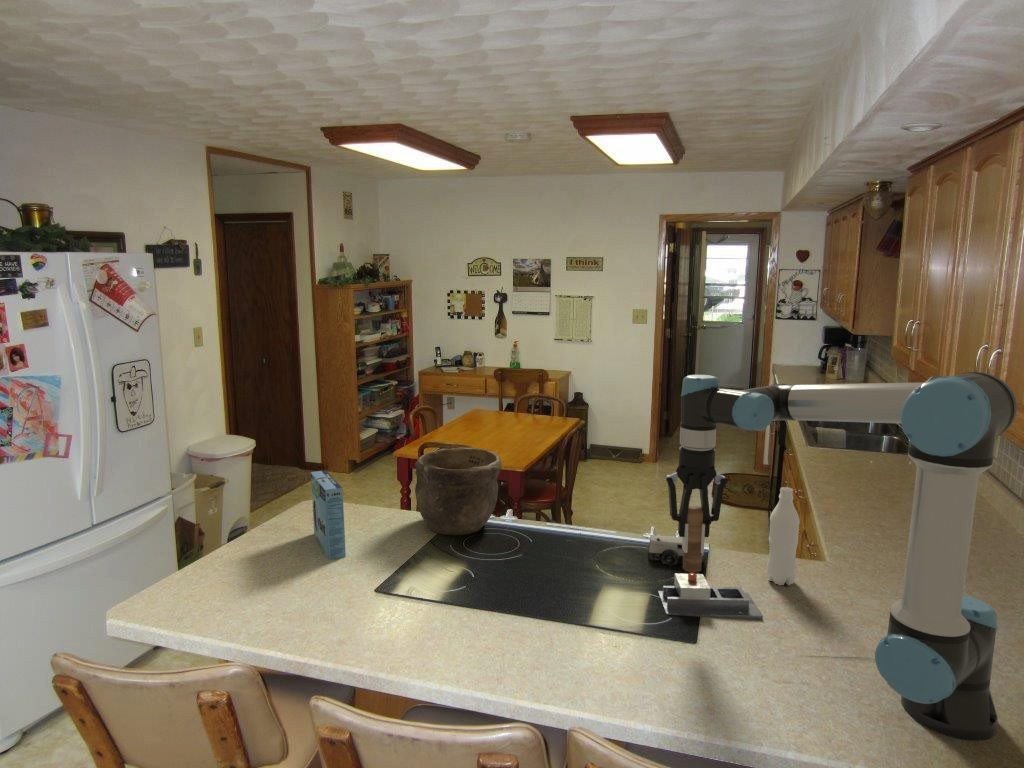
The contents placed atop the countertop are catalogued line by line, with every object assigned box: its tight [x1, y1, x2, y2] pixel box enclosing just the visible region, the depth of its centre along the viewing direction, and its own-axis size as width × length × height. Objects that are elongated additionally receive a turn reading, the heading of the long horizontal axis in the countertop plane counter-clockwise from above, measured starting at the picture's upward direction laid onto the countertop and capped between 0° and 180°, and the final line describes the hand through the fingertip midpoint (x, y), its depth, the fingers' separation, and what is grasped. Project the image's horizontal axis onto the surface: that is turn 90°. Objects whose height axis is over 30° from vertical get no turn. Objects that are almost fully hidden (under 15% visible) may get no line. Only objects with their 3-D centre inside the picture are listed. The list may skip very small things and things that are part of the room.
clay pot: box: [414, 447, 502, 536], centre depth 212 cm, size 26×26×25 cm
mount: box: [658, 585, 764, 621], centre depth 169 cm, size 12×22×4 cm, turn 88°
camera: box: [647, 534, 706, 566], centre depth 193 cm, size 15×8×10 cm, turn 73°
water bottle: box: [766, 486, 801, 586], centre depth 181 cm, size 7×7×25 cm
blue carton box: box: [310, 470, 347, 560], centre depth 195 cm, size 20×5×23 cm, turn 26°
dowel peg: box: [682, 504, 704, 573], centre depth 155 cm, size 4×4×14 cm
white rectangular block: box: [673, 572, 711, 600], centre depth 168 cm, size 8×7×4 cm
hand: (692, 550), depth 156 cm, fingers closed on dowel peg, 3 cm apart
